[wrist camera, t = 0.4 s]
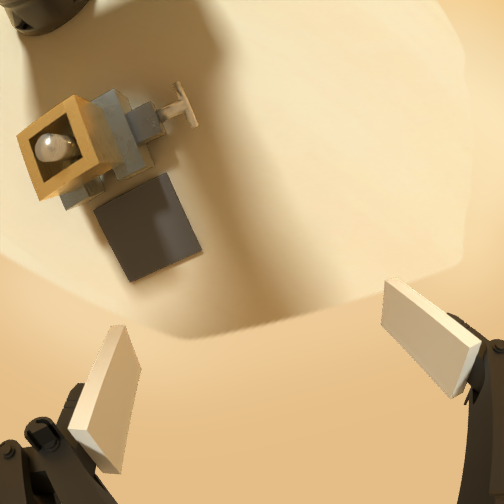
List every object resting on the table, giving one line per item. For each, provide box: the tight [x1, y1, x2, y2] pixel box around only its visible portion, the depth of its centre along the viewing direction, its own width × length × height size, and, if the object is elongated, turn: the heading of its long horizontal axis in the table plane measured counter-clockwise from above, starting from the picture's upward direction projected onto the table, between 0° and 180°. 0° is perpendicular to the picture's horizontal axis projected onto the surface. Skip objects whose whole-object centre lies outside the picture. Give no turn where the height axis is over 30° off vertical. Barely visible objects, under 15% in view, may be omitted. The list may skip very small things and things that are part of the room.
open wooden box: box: [17, 94, 124, 201], centre depth 25 cm, size 7×7×8 cm
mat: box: [94, 173, 202, 282], centre depth 38 cm, size 11×11×1 cm
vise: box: [35, 81, 199, 211], centre depth 27 cm, size 10×18×16 cm, turn 112°
